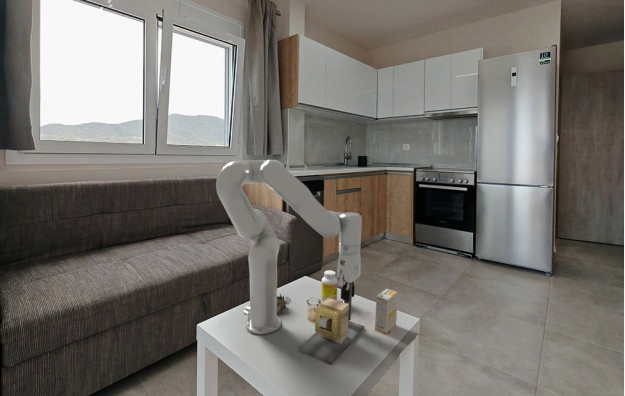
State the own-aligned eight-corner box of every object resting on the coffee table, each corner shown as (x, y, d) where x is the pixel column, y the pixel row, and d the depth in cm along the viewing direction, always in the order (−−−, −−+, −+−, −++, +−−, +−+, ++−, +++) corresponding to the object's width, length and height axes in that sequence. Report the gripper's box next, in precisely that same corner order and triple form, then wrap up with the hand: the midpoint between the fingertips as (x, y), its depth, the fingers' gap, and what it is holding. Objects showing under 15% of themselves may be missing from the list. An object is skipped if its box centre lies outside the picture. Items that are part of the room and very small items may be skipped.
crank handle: (318, 339, 103) (319, 298, 101) (344, 315, 118) (346, 279, 116) (326, 342, 101) (327, 300, 99) (352, 318, 117) (353, 281, 115)
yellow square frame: (315, 331, 106) (315, 308, 105) (319, 327, 108) (320, 305, 107) (336, 339, 101) (337, 315, 100) (340, 335, 104) (341, 311, 103)
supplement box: (384, 321, 121) (386, 288, 119) (396, 325, 118) (398, 291, 116) (373, 330, 115) (375, 295, 113) (386, 335, 112) (388, 299, 110)
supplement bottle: (335, 306, 132) (336, 276, 130) (319, 304, 133) (320, 274, 132) (337, 298, 139) (338, 270, 137) (322, 297, 140) (323, 268, 138)
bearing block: (298, 350, 102) (299, 313, 100) (335, 318, 122) (336, 287, 120) (331, 364, 96) (332, 325, 94) (364, 328, 116) (366, 295, 114)
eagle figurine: (275, 300, 133) (260, 304, 126) (284, 288, 131) (270, 292, 124) (286, 314, 130) (272, 320, 122) (295, 302, 128) (282, 307, 120)
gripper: (348, 256, 104) (346, 309, 106) (369, 244, 117) (366, 292, 120) (328, 251, 108) (326, 303, 110) (350, 241, 121) (348, 287, 124)
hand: (347, 297), depth 115 cm, fingers closed on crank handle, 3 cm apart
